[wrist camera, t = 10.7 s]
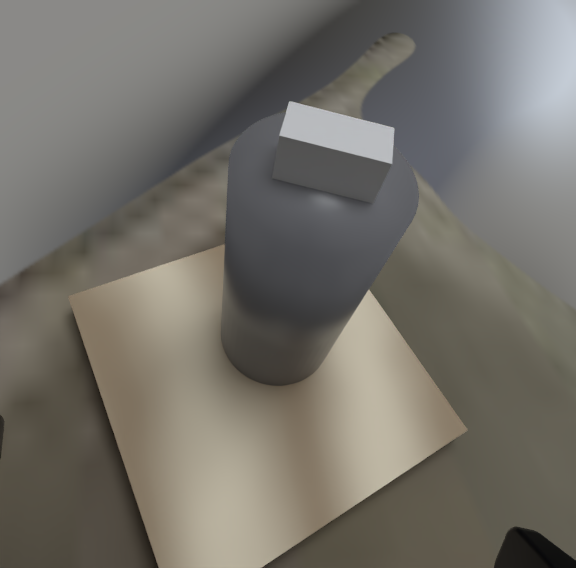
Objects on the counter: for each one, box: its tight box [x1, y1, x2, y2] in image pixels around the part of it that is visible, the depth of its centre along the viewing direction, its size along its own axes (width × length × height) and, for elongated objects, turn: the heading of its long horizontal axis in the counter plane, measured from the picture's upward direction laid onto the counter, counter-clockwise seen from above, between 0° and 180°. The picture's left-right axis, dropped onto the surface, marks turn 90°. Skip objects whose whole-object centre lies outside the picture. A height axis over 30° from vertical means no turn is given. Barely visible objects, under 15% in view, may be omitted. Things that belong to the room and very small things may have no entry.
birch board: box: [68, 244, 467, 568], centre depth 17 cm, size 12×12×1 cm
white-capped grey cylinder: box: [221, 101, 419, 386], centre depth 13 cm, size 5×5×10 cm
